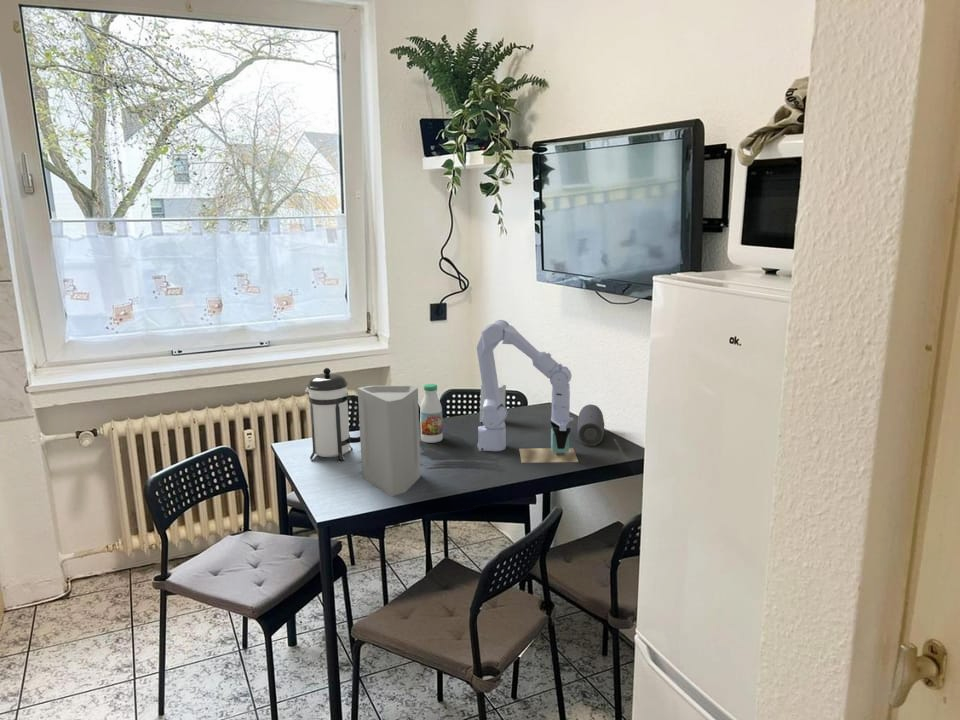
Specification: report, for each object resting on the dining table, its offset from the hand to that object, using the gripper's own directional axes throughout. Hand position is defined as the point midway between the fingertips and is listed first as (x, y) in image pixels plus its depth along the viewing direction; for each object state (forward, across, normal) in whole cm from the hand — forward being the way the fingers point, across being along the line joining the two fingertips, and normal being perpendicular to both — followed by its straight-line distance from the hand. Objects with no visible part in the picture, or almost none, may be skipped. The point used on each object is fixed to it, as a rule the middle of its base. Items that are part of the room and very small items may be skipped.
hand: (560, 445), depth 228 cm
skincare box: (+5, +40, +21) cm, 45 cm away
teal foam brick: (+2, 0, 0) cm, 2 cm away
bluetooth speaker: (+5, +19, -13) cm, 23 cm away
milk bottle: (+5, +20, +43) cm, 48 cm away
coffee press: (+5, +5, +74) cm, 74 cm away
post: (+3, 0, 0) cm, 3 cm away
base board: (+4, -1, +4) cm, 6 cm away
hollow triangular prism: (+5, -17, +51) cm, 54 cm away
